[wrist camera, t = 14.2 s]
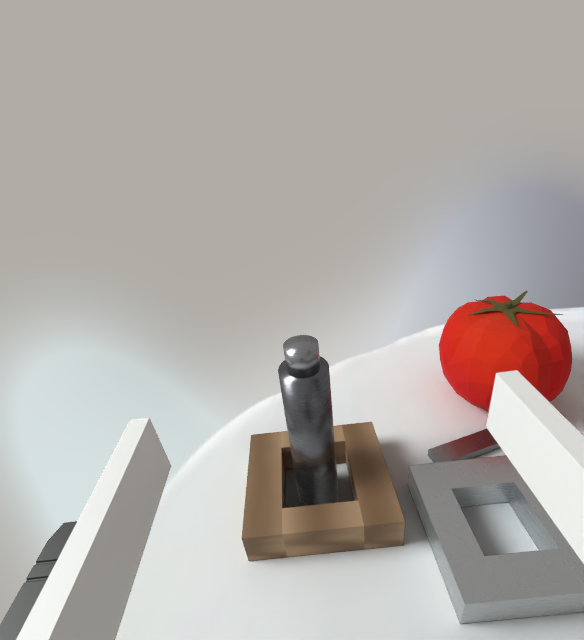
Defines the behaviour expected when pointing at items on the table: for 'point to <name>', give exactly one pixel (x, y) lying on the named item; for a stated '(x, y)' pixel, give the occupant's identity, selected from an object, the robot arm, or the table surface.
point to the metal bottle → (309, 420)
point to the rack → (324, 519)
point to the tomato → (504, 348)
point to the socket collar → (495, 570)
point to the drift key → (464, 447)
